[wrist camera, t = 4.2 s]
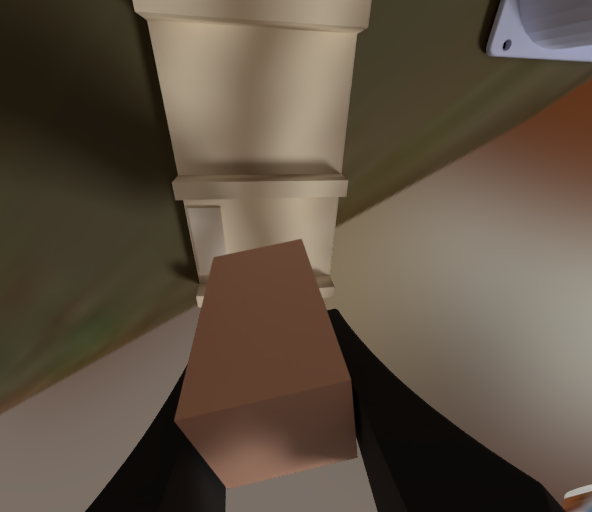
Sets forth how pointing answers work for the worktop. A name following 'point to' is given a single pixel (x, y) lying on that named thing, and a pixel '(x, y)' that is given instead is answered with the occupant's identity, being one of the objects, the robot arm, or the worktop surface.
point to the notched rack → (257, 119)
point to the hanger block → (266, 371)
